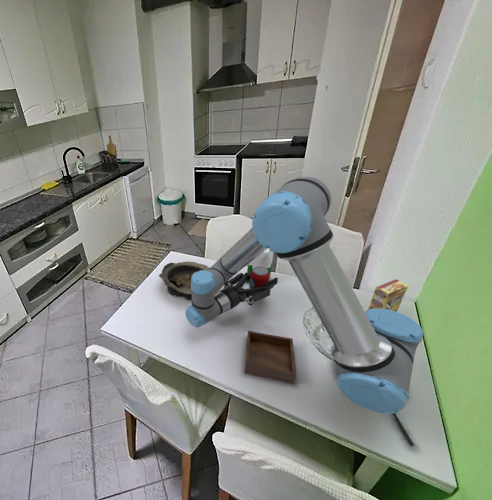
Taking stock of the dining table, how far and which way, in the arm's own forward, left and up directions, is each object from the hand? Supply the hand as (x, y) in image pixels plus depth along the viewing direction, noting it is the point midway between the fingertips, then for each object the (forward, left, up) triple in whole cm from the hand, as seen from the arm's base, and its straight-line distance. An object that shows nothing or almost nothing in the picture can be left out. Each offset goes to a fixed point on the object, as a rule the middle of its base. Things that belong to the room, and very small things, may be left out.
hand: (268, 276), depth 108 cm
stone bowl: (-2, +31, -10) cm, 33 cm away
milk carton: (+9, +3, -10) cm, 14 cm away
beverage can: (-4, +3, -7) cm, 9 cm away
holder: (-32, -1, -10) cm, 33 cm away
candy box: (-6, -36, -10) cm, 38 cm away
